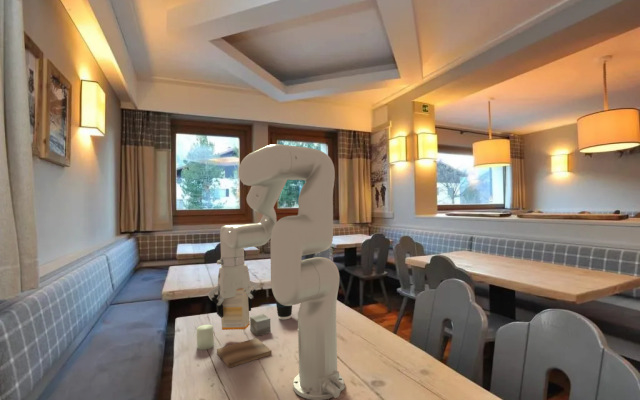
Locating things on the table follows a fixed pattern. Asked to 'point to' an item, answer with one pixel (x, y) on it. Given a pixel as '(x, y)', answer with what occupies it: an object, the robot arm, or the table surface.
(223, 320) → the supplement box
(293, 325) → the table surface
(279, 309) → the dixie cup
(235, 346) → the tan board
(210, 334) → the sage capsule
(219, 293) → the robot arm
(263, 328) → the gray block
